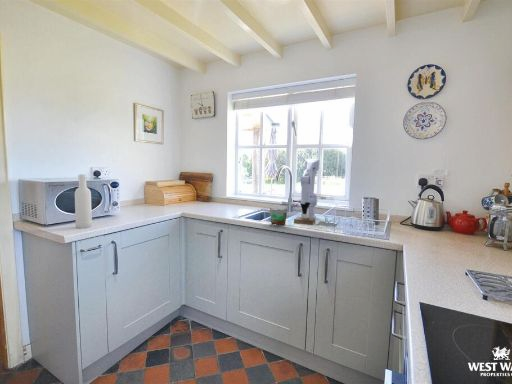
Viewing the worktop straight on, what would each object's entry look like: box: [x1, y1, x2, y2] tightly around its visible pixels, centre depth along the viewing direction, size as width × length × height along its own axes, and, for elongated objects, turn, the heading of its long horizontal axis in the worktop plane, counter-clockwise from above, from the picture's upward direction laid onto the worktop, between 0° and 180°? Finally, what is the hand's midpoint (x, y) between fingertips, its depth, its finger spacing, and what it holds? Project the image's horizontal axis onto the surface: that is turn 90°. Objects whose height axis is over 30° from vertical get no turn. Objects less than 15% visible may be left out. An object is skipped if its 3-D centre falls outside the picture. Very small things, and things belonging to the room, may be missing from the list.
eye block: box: [293, 216, 316, 225], centre depth 176 cm, size 12×12×2 cm
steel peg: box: [300, 208, 308, 219], centre depth 175 cm, size 3×4×8 cm
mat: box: [316, 220, 338, 227], centre depth 172 cm, size 14×12×1 cm
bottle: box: [74, 174, 93, 229], centre depth 148 cm, size 8×8×30 cm
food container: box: [269, 207, 289, 226], centre depth 166 cm, size 12×6×10 cm, turn 62°
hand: (304, 213), depth 175 cm, fingers closed on steel peg, 3 cm apart
